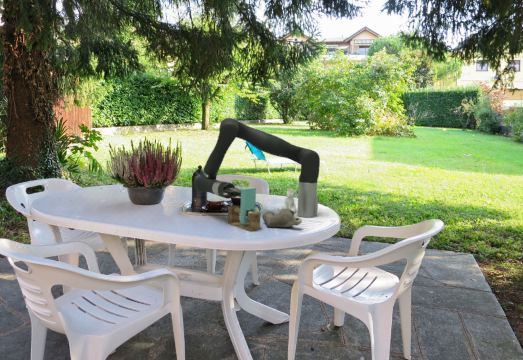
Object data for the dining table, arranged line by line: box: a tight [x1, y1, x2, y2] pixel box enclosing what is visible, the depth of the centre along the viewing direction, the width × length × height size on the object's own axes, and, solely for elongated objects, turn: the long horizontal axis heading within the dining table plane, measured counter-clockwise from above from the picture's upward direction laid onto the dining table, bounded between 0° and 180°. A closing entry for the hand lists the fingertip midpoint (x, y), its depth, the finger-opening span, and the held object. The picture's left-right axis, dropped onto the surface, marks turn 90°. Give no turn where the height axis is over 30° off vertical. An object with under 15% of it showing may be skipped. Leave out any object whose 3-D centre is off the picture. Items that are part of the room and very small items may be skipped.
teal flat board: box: [239, 186, 257, 224], centre depth 207 cm, size 2×6×16 cm, turn 131°
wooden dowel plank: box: [226, 204, 262, 233], centre depth 210 cm, size 18×6×8 cm, turn 41°
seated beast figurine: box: [277, 188, 298, 214], centre depth 240 cm, size 10×9×12 cm
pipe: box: [262, 209, 303, 228], centre depth 212 cm, size 16×9×15 cm
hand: (246, 195), depth 207 cm, fingers closed
